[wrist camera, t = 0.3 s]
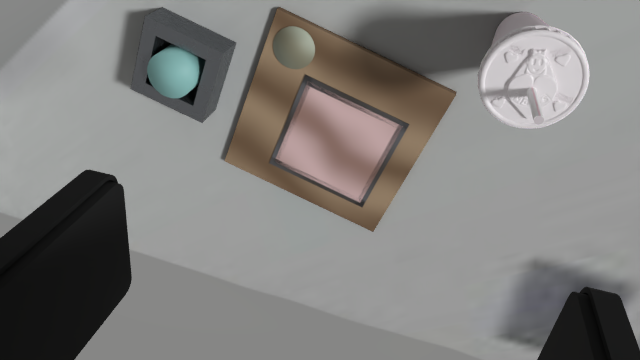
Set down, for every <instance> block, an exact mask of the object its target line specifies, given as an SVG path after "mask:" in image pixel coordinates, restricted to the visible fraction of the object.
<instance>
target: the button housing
mask: <svg viewBox="0 0 640 360" xmlns="http://www.w3.org/2000/svg"><path fill="white" fill-rule="evenodd" d="M168 42H169V43H171V44H174V45H176V46H178V47H180V48H182V49H184V50H186V51H188V52H190V53H192V54H194V55H197V56H199V57H201V58H203V59H205V60H206V62H205V66H204V69H203V73H202V76H201V80H200V83H199V87H198V89H197V88H195V87H194V88H193V89H192V90H191V91H190V92H188V93H187V94H186V95H185V96H183V97H181V98H169V97H166V96H164V95H162V94H160V93H159V92H158V91H157V90H156V89H155V88H154V87H153V86H152V84H151V82H150V80H149V78H148V73H147V67H148V63H149V61H150V59H151V58H152V57H153V56H154V55H156V54H157V53H159V52H160V51H162V50H163V49H165V48H167V47H168ZM235 45H236V42H234V41H232V40H230V39H227V38H225V37H223V36H221V35H219V34H217V33H215V32H213V31H211V30H209V29H207V28H204V27H202V26H200V25H198V24H196V23H194V22H192V21H190V20H188V19H186V18H184V17H182V16H179V15H177V14H175V13H173V12H171V11H169V10H167V9H165V8H163V7H162V8H160V9H158V10H156V11H154V12H152V13H150V14H148V15H146V16H145V19H144V24H143V29H142V34H141V39H140V44H139V49H138V54H137V59H136V64H135V69H134V74H133V79H132V84H131V89H132V90H134V91H136V92H138V93H141V94H143V95H145V96H147V97H149V98H151V99H153V100H155V101H157V102H159V103H161V104H164V105H166V106H168V107H170V108H172V109H174V110H176V111H178V112H180V113H182V114H185V115H187V116H189V117H191V118H193V119H195V120H197V121H199V122H201V123H203V122H204V121H205V120H206V119H207V118H208V117H209V116H210V115H211V114H212V113H213V112H214V111H215V110H216V106H217V103H218V100H219V97H220V94H221V90H222V87H223V84H224V81H225V77H226V74H227V71H228V68H229V65H230V61H231V58H232V55H233V52H234V49H235Z"/></svg>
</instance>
